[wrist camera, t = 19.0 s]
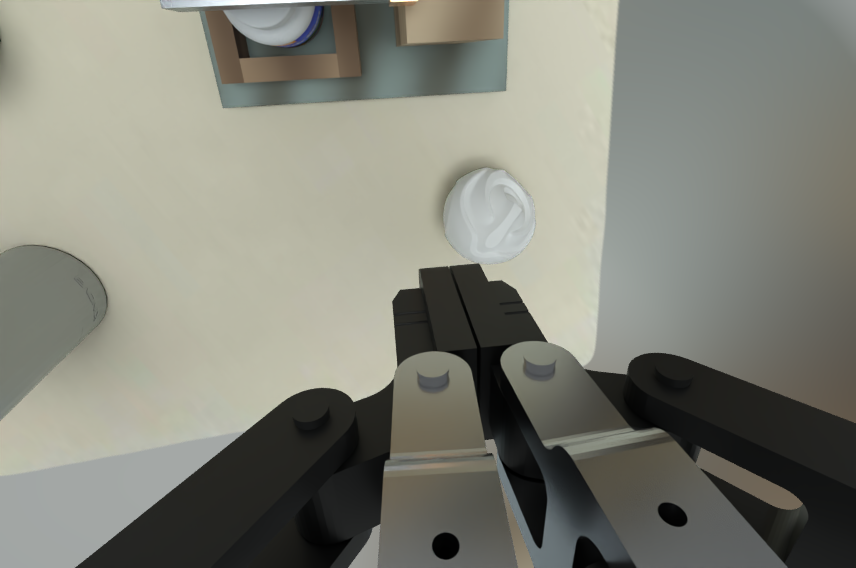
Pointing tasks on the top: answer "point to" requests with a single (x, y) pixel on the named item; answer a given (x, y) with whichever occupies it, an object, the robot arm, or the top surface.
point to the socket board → (367, 54)
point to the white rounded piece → (489, 216)
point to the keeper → (265, 4)
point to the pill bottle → (278, 24)
